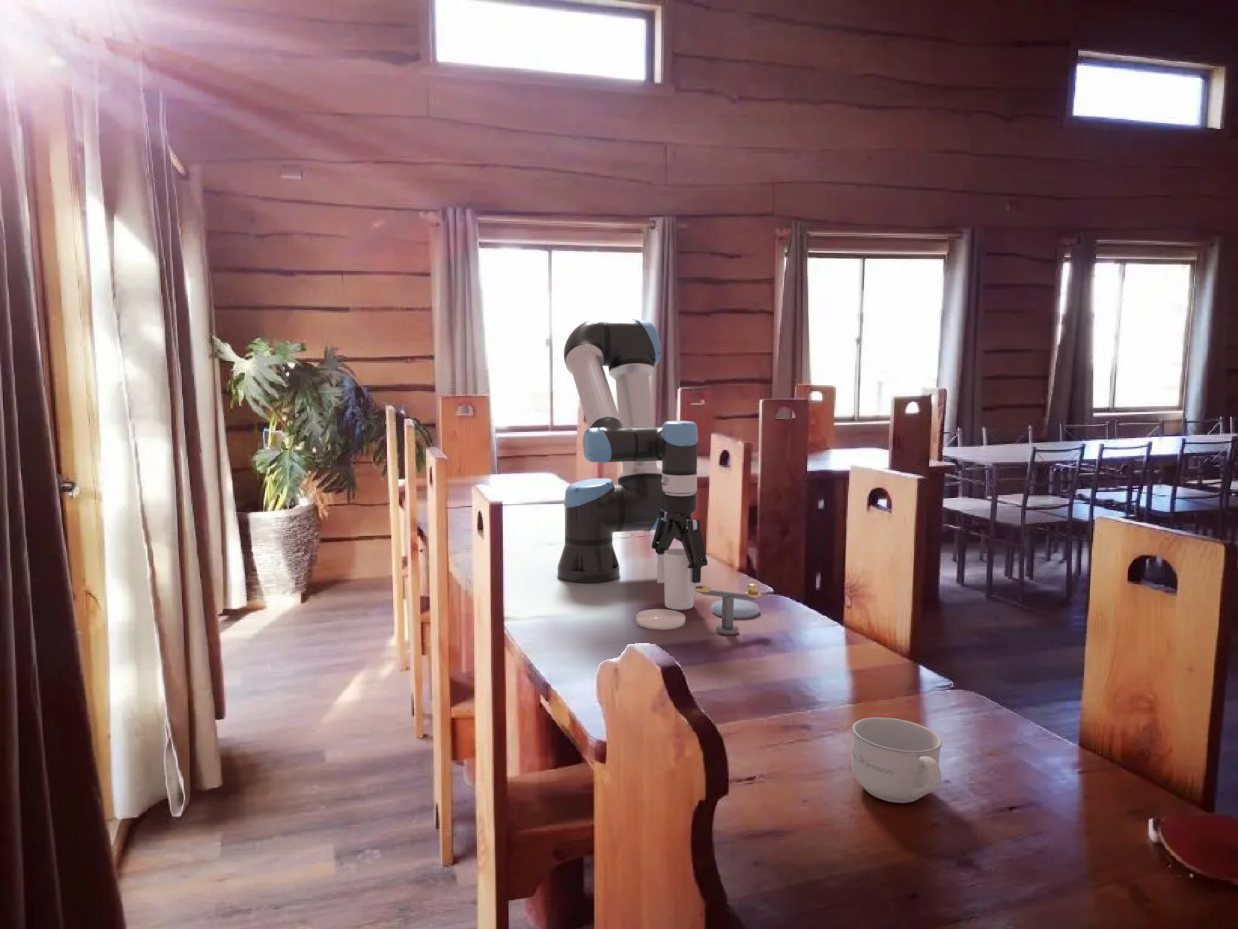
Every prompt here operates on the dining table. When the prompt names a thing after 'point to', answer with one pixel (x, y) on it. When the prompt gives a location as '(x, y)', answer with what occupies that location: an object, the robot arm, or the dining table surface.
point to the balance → (729, 605)
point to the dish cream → (660, 619)
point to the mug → (676, 579)
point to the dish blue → (738, 609)
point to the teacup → (895, 758)
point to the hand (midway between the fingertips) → (677, 589)
